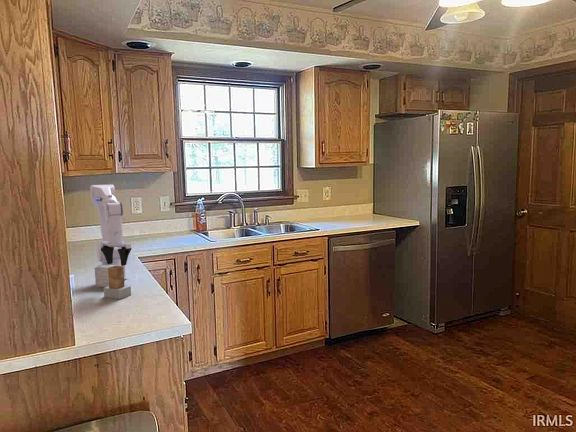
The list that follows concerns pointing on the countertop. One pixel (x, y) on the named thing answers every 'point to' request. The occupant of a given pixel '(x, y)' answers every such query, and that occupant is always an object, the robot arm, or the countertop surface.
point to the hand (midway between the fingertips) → (116, 264)
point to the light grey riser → (117, 292)
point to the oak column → (116, 277)
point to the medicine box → (102, 275)
